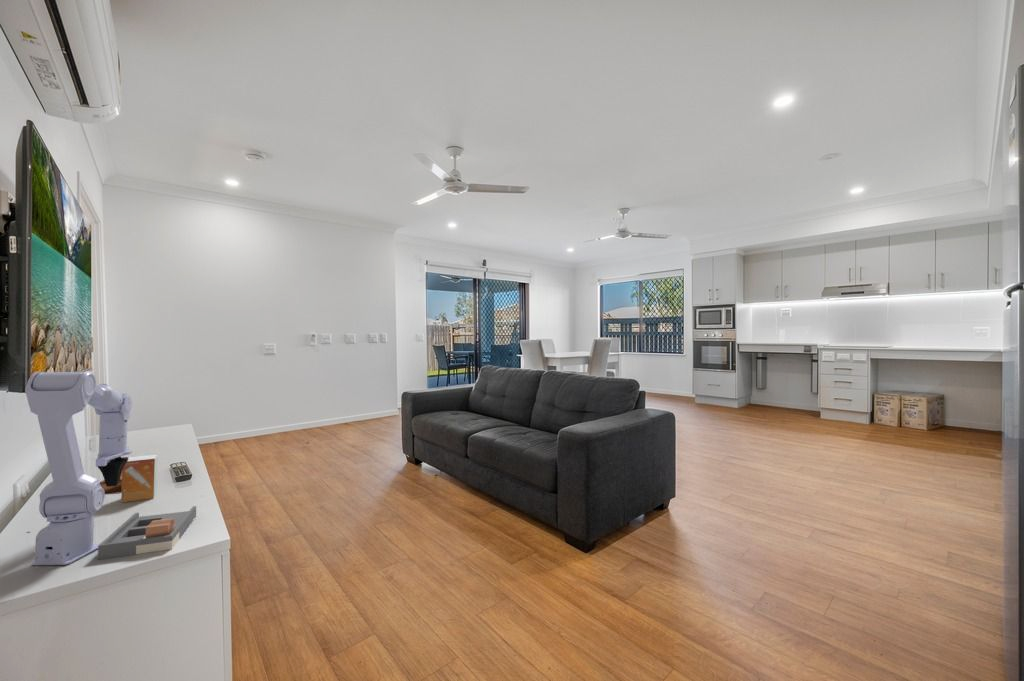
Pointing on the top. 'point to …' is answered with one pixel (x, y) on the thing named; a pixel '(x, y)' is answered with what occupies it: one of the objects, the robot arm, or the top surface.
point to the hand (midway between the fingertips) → (112, 485)
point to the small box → (139, 478)
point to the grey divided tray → (144, 535)
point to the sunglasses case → (112, 487)
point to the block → (160, 528)
